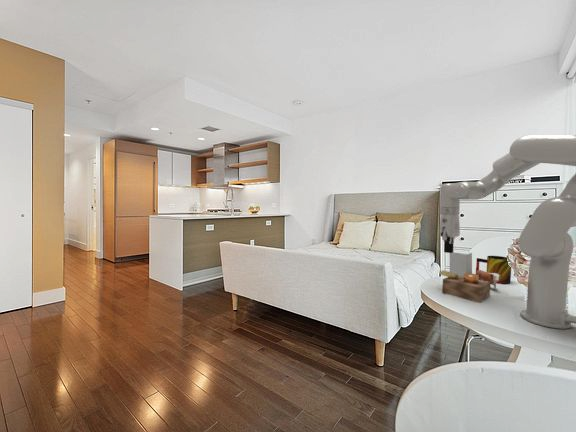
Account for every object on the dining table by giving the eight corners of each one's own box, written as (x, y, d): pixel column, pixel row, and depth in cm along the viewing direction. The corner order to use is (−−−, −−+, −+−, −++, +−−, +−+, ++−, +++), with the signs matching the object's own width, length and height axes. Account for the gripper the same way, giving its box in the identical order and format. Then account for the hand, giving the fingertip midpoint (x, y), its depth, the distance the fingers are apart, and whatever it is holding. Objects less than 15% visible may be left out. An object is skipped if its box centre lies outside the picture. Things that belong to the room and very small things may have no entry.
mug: (475, 276, 145) (476, 254, 144) (508, 280, 137) (509, 257, 137) (476, 280, 136) (477, 257, 136) (511, 285, 129) (513, 260, 128)
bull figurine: (494, 293, 118) (496, 274, 118) (473, 283, 132) (473, 267, 131) (504, 293, 119) (505, 274, 118) (481, 283, 132) (482, 267, 131)
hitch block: (489, 296, 115) (490, 282, 114) (479, 302, 107) (480, 287, 107) (453, 287, 126) (454, 274, 125) (442, 292, 118) (442, 279, 118)
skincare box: (472, 282, 133) (473, 252, 132) (466, 284, 130) (467, 253, 129) (454, 278, 140) (455, 249, 139) (448, 280, 137) (449, 251, 136)
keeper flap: (458, 277, 121) (458, 274, 120) (454, 279, 118) (454, 276, 118) (443, 272, 125) (444, 270, 125) (439, 274, 123) (439, 271, 122)
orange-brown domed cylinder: (479, 294, 115) (480, 275, 114) (475, 297, 112) (476, 277, 111) (465, 291, 119) (466, 272, 118) (461, 293, 116) (461, 274, 115)
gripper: (451, 211, 113) (450, 255, 114) (465, 211, 122) (464, 251, 123) (432, 211, 119) (432, 253, 120) (447, 211, 128) (446, 249, 129)
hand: (448, 252), depth 121 cm, fingers closed
